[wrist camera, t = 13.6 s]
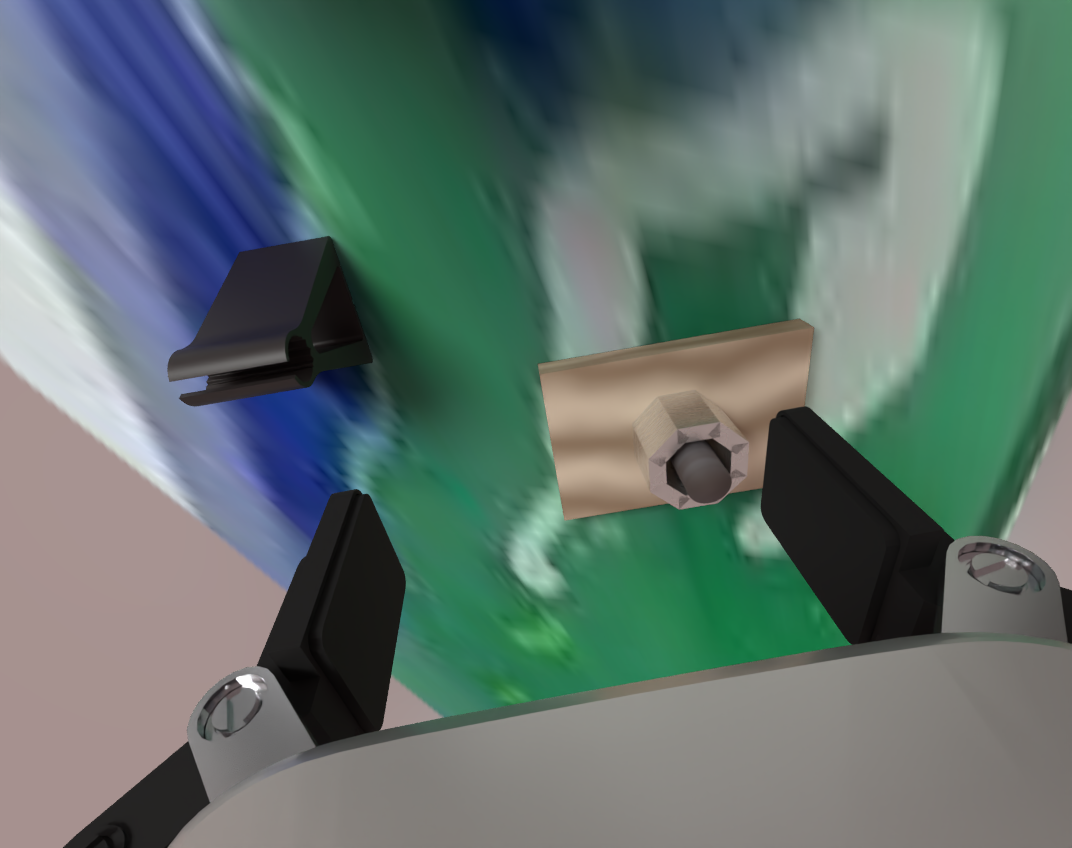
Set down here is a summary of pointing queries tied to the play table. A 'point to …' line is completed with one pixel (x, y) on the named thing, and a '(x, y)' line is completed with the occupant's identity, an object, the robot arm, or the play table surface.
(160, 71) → the play table surface
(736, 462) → the steel ring
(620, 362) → the post stand
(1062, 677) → the robot arm
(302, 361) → the phone stand
